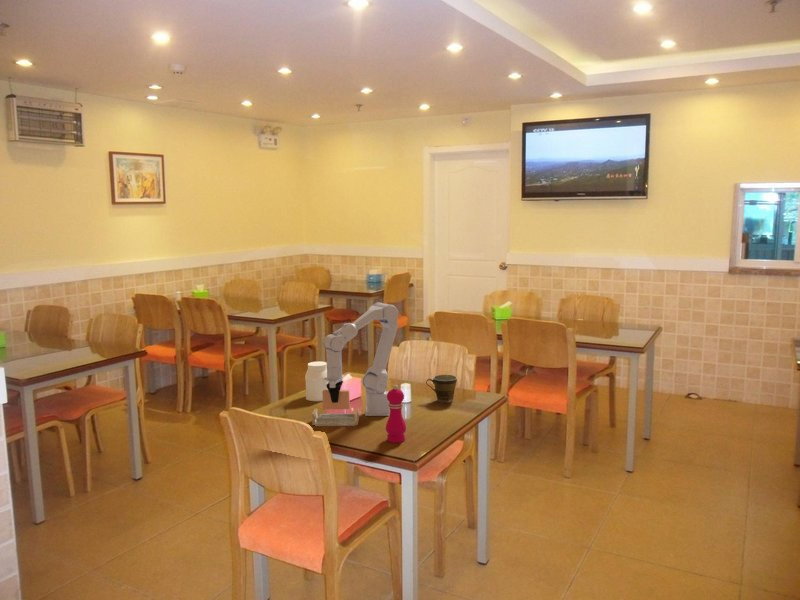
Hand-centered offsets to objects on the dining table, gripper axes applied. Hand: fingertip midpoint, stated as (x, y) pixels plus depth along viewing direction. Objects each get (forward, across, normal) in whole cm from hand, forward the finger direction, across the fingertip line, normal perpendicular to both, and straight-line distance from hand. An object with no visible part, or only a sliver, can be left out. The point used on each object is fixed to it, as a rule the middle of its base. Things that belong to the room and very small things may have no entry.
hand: (335, 401), depth 248 cm
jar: (+9, -33, -12) cm, 36 cm away
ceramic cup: (+9, -27, +42) cm, 50 cm away
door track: (+8, 0, 0) cm, 8 cm away
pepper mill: (+9, +19, +24) cm, 31 cm away
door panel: (+3, 0, 0) cm, 3 cm away
